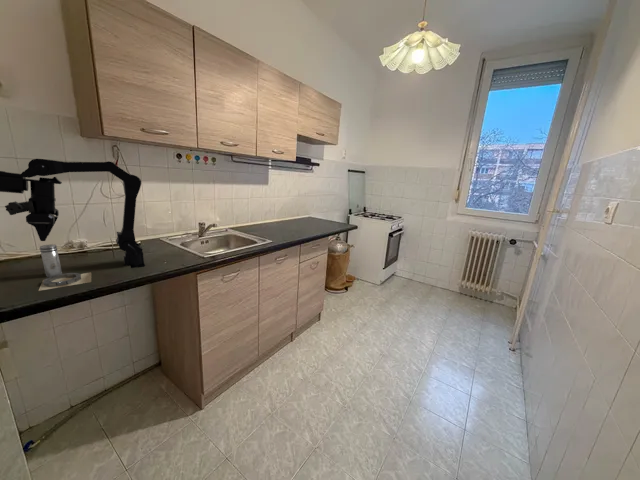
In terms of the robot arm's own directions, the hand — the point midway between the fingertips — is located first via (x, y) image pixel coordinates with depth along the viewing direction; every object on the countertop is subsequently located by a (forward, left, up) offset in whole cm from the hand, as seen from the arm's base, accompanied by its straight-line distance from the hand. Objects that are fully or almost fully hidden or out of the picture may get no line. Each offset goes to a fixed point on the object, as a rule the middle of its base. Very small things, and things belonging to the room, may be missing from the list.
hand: (44, 238), depth 92 cm
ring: (-3, +9, -14) cm, 17 cm away
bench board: (-4, +9, -15) cm, 19 cm away
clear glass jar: (0, 0, -15) cm, 15 cm away
